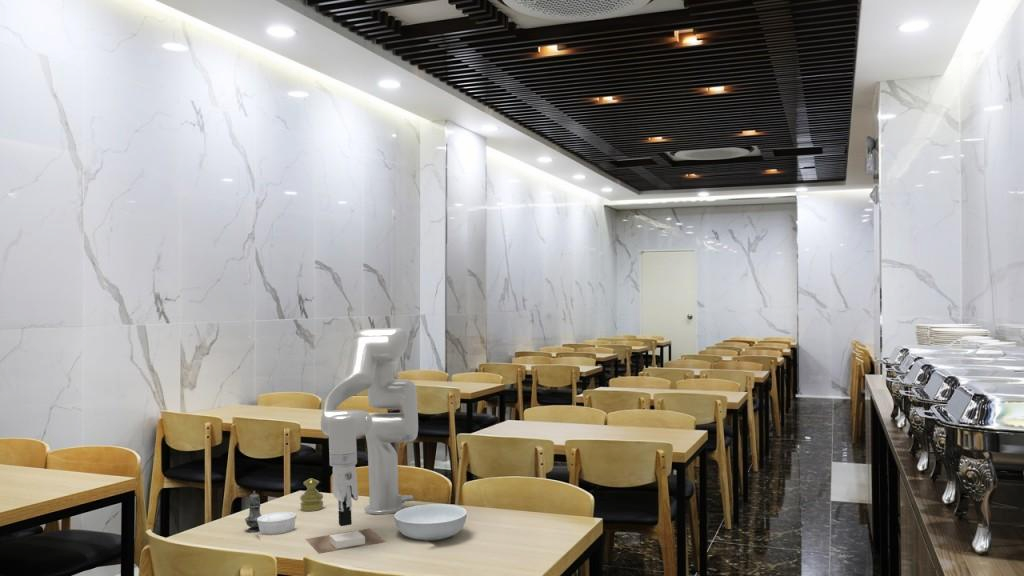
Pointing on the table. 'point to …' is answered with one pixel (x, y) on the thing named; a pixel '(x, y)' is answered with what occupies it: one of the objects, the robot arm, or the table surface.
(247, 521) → the salt shaker
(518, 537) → the table surface
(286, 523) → the ramekin
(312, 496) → the olive chess piece
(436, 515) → the serving bowl
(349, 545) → the tile
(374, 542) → the board
